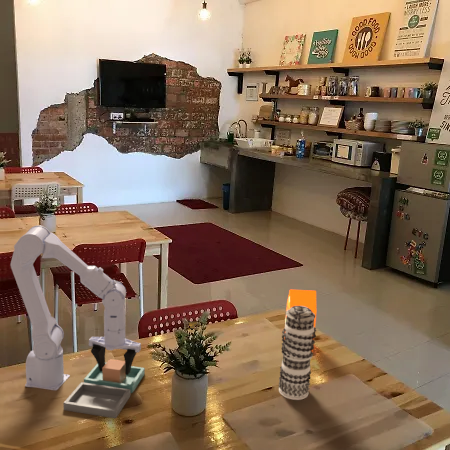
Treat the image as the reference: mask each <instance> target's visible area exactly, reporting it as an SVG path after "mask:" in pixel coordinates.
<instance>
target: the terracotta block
mask: <svg viewBox="0 0 450 450" xmlns="http://www.w3.org/2000/svg"><path fill="white" fill-rule="evenodd" d="M102 372H103V380H104V381H110V382H117V383H122V382H123V381H124V380H125V378H126V375H125V360H120V359H113V358H112V359H111V358H109V359H108V360H107V361H106V364H105V365H104V366H103V368H102Z"/></svg>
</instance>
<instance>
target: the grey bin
mask: <svg viewBox="0 0 450 450" xmlns="http://www.w3.org/2000/svg"><path fill="white" fill-rule="evenodd" d="M130 398H131V393H130V389H124V388H117V387H110V386H104V385H97V384H91V383H84V381H83V382H82V381H81V382H80V383H79V384H78V385H77V386H76V388H75V389H74V390H73V391H72V392H71V393H70V394H69V396H68V397H67V398H66V400H64V402H63V411H67V412H71V413H72V412H73V413H78V414H79V413H80V414H86V415H92V416H96V417H98V416H99V417H104V418H111V419H117V418H118V416H119V415H120V413H121V411H122V410H123V408H124V407H125V405H127V402H128V401H129V399H130Z"/></svg>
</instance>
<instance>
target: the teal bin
mask: <svg viewBox="0 0 450 450" xmlns="http://www.w3.org/2000/svg"><path fill="white" fill-rule="evenodd" d="M106 363H107V361H105V364H106ZM145 372H146V369H145V367H141V366H134V365H133V366H131V370H130V373H129V374H128V375H126V378H125V380H124V381H123V382H122V383H117V382H110V381H104V380H103V372H102V371H100V370H99V366H98V363H97V362H96V365H95V366H94V367H92V369H91V370H90V372H89V373H88V374H86V376H85V377H84V378H83V382H84V383H91V384H97V385H104V386H110V387H117V388H124V389H130V394H133V393H134V391H135V390H136V388H137V387H138V385H139V384H140V382H141V380H142V379H143V377H144V376H145Z"/></svg>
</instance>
